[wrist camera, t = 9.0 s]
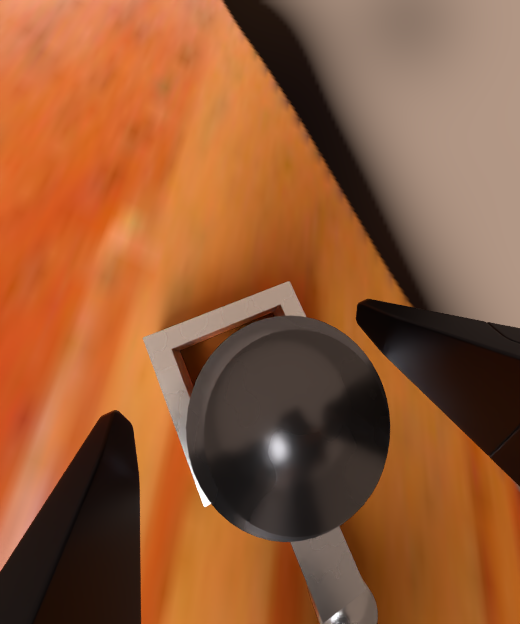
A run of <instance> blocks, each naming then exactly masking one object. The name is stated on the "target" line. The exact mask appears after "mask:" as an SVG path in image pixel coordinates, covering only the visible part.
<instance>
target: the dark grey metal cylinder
mask: <svg viewBox="0 0 520 624" xmlns="http://www.w3.org/2000/svg"><path fill="white" fill-rule="evenodd" d="M186 440H187V447H188V454H189V458H190V462H191V465H192V469H193V472H194V474H195V477H196V479H197V481H198V483H199V486H200V488H201V489H202V491H203V492H204V494H205V496H206V497H207V499H208V500H209V502H210V503H211V504H212V505H213V506H214V507H215V509H216V510H217V511H218V512H219V513H220V514H221V515H222V516H223V517H224V518H226V519H227V520H228V521H229V522H230V523H232V524H233V525H235V526H236V527H238V528H239V529H241V530H243V531H245V532H247V533H249V534H251V535H254V536H256V537H259V538H263V539H267V540H271V541H280V542H294V541H303V540H307V539H312V538H316V537H318V536H321V535H323V534H326V533H328V532H330V531H332V530H333V529H335V528H337V527H339V526H340V525H342V524H343V523H344V522H346V521H347V520H348V519H349V518H351V517H352V516H353V515H354V514H355V513H356V512H357V511H358V510H359V509H360V508H361V507H362V506H363V505H364V504H365V502H366V501H367V499H368V498H369V497H370V495H371V494H372V492H373V490H374V489H375V487H376V485H377V483H378V481H379V479H380V476H381V474H382V471H383V469H384V465H385V461H386V458H387V453H388V447H389V440H390V417H389V408H388V403H387V398H386V395H385V391H384V388H383V385H382V383H381V380H380V378H379V376H378V373H377V372H376V370H375V368H374V366H373V364H372V363H371V361H370V360H369V358H368V357H367V356H366V354H365V353H364V352H363V351H362V350H361V348H360V347H359V346H358V345H357V344H356V343H355V342H354V341H353V340H351V339H350V338H349V337H348V336H347V335H345V334H344V333H342V332H341V331H339V330H338V329H336V328H335V327H333V326H331V325H329V324H326V323H324V322H321V321H319V320H316V319H312V318H307V317H303V316H291V315H288V316H275V317H270V318H265V319H262V320H259V321H256V322H253V323H251V324H249V325H247V326H245V327H243V328H241V329H240V330H238V331H237V332H235V333H234V334H232V335H231V336H230V337H228V338H227V339H226V340H225V341H224V342H223V343H222V344H220V346H219V347H218V348H217V349H216V350H215V351H214V352H213V353H212V355H211V356H210V357H209V359H208V360H207V362H206V363H205V365H204V366H203V368H202V370H201V372H200V374H199V376H198V378H197V380H196V382H195V385H194V388H193V390H192V393H191V397H190V401H189V406H188V411H187V421H186Z"/></svg>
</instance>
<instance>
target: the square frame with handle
mask: <svg viewBox="0 0 520 624" xmlns="http://www.w3.org/2000/svg"><path fill="white" fill-rule="evenodd" d="M272 312H273V314H274V316H288V315H291V316H303V317H306V315H305V313H304V311H303V309H302V307H301V305H300V302H299V300H298V298H297V296H296V294H295V292H294V290H293V287H292V285H291V283H290V281H288V282H285V283H283V284H280V285H277V286H275V287H272V288H270V289H267V290H265V291H262V292H259V293H257V294H254V295H252V296H249V297H246V298H244V299H241V300H239V301H236V302H234V303H231V304H228V305H226V306H223V307H221V308H218V309H216V310H213V311H210V312H208V313H205V314H203V315H200V316H197V317H195V318H192V319H190V320H187V321H185V322H182V323H179V324H177V325H174V326H172V327H169V328H167V329H164V330H161V331H159V332H156V333H154V334H151V335H148V336H146V337H143V340H144V343H145V345H146V348H147V351H148V354H149V357H150V359H151V362H152V365H153V368H154V370H155V373H156V376H157V379H158V381H159V384H160V387H161V390H162V392H163V395H164V398H165V401H166V403H167V406H168V409H169V412H170V414H171V417H172V420H173V423H174V425H175V428H176V431H177V434H178V437H179V439H180V442H181V445H182V448H183V450H184V453H185V456H186V459H187V461H188V464H189V467H190V470H191V472H192V475H193V478H194V481H195V483H196V486H197V489H198V492H199V494H200V497H201V500H202V503H203V505H204V507H206V506H208V505H209V504H211V503H210V502H209V500H208V499H207V497H206V496H205V494H204V492H203V491H202V489H201V488H200V486H199V483H198V481H197V479H196V477H195V474H194V472H193V469H192V465H191V462H190V458H189V454H188V447H187V440H186V421H187V411H188V406H189V401H190V397H191V393H192V390H193V388H194V386H193V384H192V381H191V378H190V376H189V373H188V371H187V368H186V365H185V363H184V360H183V357H182V355H181V352H180V350H182V349H185V348H187V347H190V346H192V345H194V344H197V343H199V342H202V341H204V340H207V339H209V338H211V337H214V336H216V335H219V334H221V333H223V332H226V331H228V330H231V329H233V328H236V327H238V326H240V325H243V324H245V323H248V322H250V321H252V320H255V319H257V318H260V317H262V316H265V315H267V314H269V313H272ZM290 543H291V545H292V548H293V550H294V552H295V555H296V557H297V560H298V562H299V565H300V567H301V570H302V572H303V575H304V577H305V580H306V582H307V585H308V592H309V595H310V598H311V601H312V604H313V607H314V610H315V612H316V615H317V618H318V621H319V624H377V621H378V611H377V605H376V601H375V599H374V596H373V594H372V593H371V591H370V589H369V588H368V586H367V585H366V583H365V581H364V580H363V578H362V576H361V575H360V573H359V571H358V568H357V566H356V564H355V561H354V559H353V557H352V554H351V552H350V550H349V547H348V545H347V543H346V541H345V538H344V536H343V534H342V531H341V529H340V527H337V528H335V529H333V530H332V531H330V532H328V533H326V534H323V535H321V536H318V537H316V538H312V539H307V540H303V541H294V542H290Z"/></svg>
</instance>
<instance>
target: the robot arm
mask: <svg viewBox="0 0 520 624" xmlns="http://www.w3.org/2000/svg"><path fill="white" fill-rule="evenodd" d="M356 321H357V323H358V325H359V326H360V327H361V328H362V330H363V331H364V332H365V333H366V334H367V336H368V337H369V338H370V339H371V340H372V341H373V343H374V344H375V345H376V346H377V347H378V349H379V350H380V351H381V352H382V353H383V354H384V355H385V356H386V357H387V358H388V359H389V360H390V361H391V362H392V363H393V364H394V365H395V366H396V367H397V368H398V369H399V370H400V371H401V372H402V373H403V374H404V375H405V376H406V377H407V378H409V379H410V380H411V381H412V382H413V383H414V384H415V385H416V386H417V387H418V388H419V389H420V390H421V391H422V392H423V393H424V394H425V395H426V396H427V397H428V398H429V399H430V400H431V401H432V402H433V403H434V404H435V405H436V406H437V407H438V408H440V409H441V410H442V411H443V412H444V413H445V414H446V415H447V416H448V417H449V418H450V419H451V420H452V421H453V422H454V423H455V424H456V425H457V426H458V427H459V428H460V429H461V430H462V431H463V432H464V433H465V434H466V435H467V436H468V437H469V438H470V439H472V440H473V441H474V442H475V443H476V444H477V445H478V446H479V447H480V448H481V449H482V450H483V451H484V452H485V453H486V454H487V455H488V456H489V457H490V458H491V459H492V460H493V461H494V462H495V463H496V464H497V465H498V466H499V467H500V468H501V469H502V470H503V471H504V472H505V473H506V474H507V475H508V476H510V477H511V478H512V479H513V480H514V481H515V482H516V483H517V484H518V485H519V486H520V328H516V327H510V326H505V325H500V324H495V323H490V322H488V323H486V322H484V321H479V320H474V319H469V318H464V317H459V316H454V315H449V314H444V313H438V312H433V311H428V310H423V309H418V308H413V307H408V306H403V305H398V304H393V303H387V302H382V301H377V300H372V299H366V300H363V301H361V302H359V303H358V305H357V313H356ZM0 624H141V574H140V485H139V471H138V462H137V455H136V447H135V439H134V431H133V427H132V424H131V423H130V422H129V421H128V420H127V419H126V418H125V417H124V416H123V415H122V414H121V413H120V412H119V411H117V410H114V411H111V412H109V413H107V414H105V415H103V416H101V417H100V418H99V420H98V421H97V423H96V425H95V426H94V428H93V429H92V431H91V432H90V434H89V435H88V437H87V438H86V440H85V442H84V443H83V445H82V446H81V448H80V449H79V451H78V452H77V454H76V455H75V457H74V459H73V460H72V462H71V463H70V465H69V466H68V468H67V469H66V471H65V472H64V474H63V476H62V477H61V479H60V480H59V482H58V483H57V485H56V486H55V488H54V489H53V491H52V493H51V494H50V496H49V497H48V499H47V500H46V502H45V503H44V505H43V507H42V508H41V510H40V511H39V513H38V514H37V516H36V517H35V519H34V520H33V522H32V524H31V525H30V527H29V528H28V530H27V531H26V533H25V534H24V536H23V537H22V539H21V541H20V542H19V544H18V545H17V547H16V548H15V550H14V551H13V553H12V554H11V556H10V558H9V559H8V561H7V562H6V564H5V565H4V567H3V568H2V570H1V572H0Z"/></svg>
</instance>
